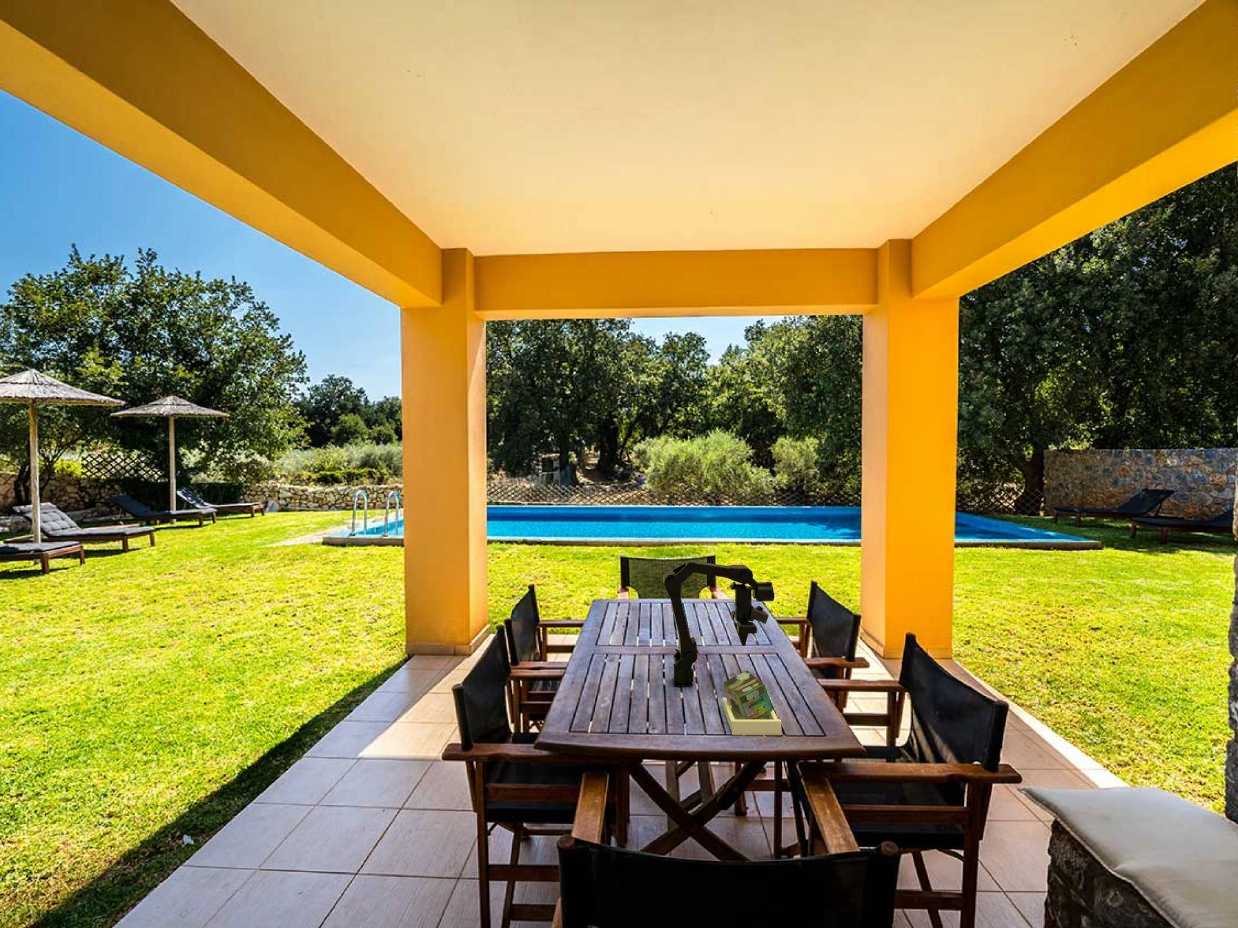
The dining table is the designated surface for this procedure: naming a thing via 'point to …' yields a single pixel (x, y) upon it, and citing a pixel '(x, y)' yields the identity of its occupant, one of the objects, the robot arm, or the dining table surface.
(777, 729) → the pale yellow tray
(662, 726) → the dining table surface
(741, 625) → the robot arm
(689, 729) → the dining table surface
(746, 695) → the chalk box
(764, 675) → the dining table surface
